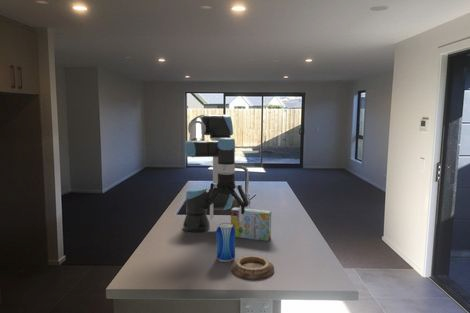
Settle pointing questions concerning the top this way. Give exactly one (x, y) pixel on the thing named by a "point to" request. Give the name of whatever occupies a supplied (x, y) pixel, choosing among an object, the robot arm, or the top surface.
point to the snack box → (252, 224)
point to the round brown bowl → (252, 267)
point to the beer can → (225, 242)
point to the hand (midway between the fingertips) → (226, 219)
